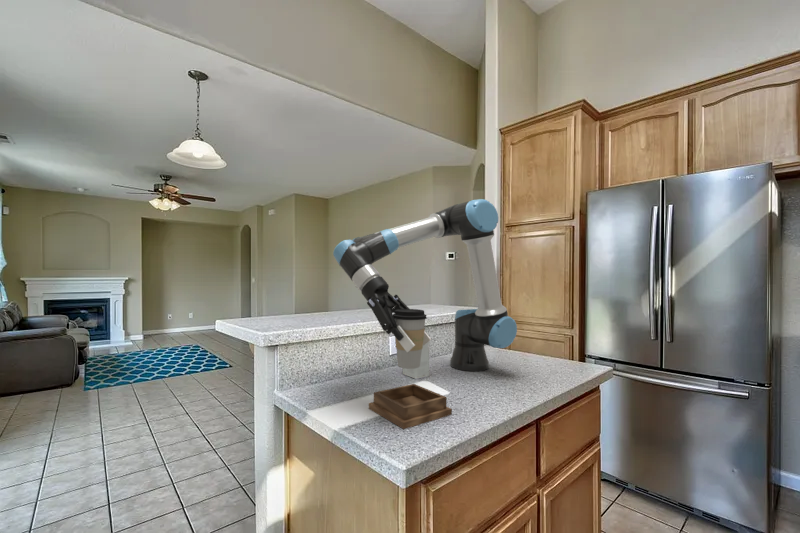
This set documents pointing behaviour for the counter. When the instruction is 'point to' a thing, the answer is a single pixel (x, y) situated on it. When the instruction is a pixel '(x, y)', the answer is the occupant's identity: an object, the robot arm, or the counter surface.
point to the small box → (424, 365)
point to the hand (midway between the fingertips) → (419, 345)
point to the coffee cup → (410, 336)
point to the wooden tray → (409, 405)
